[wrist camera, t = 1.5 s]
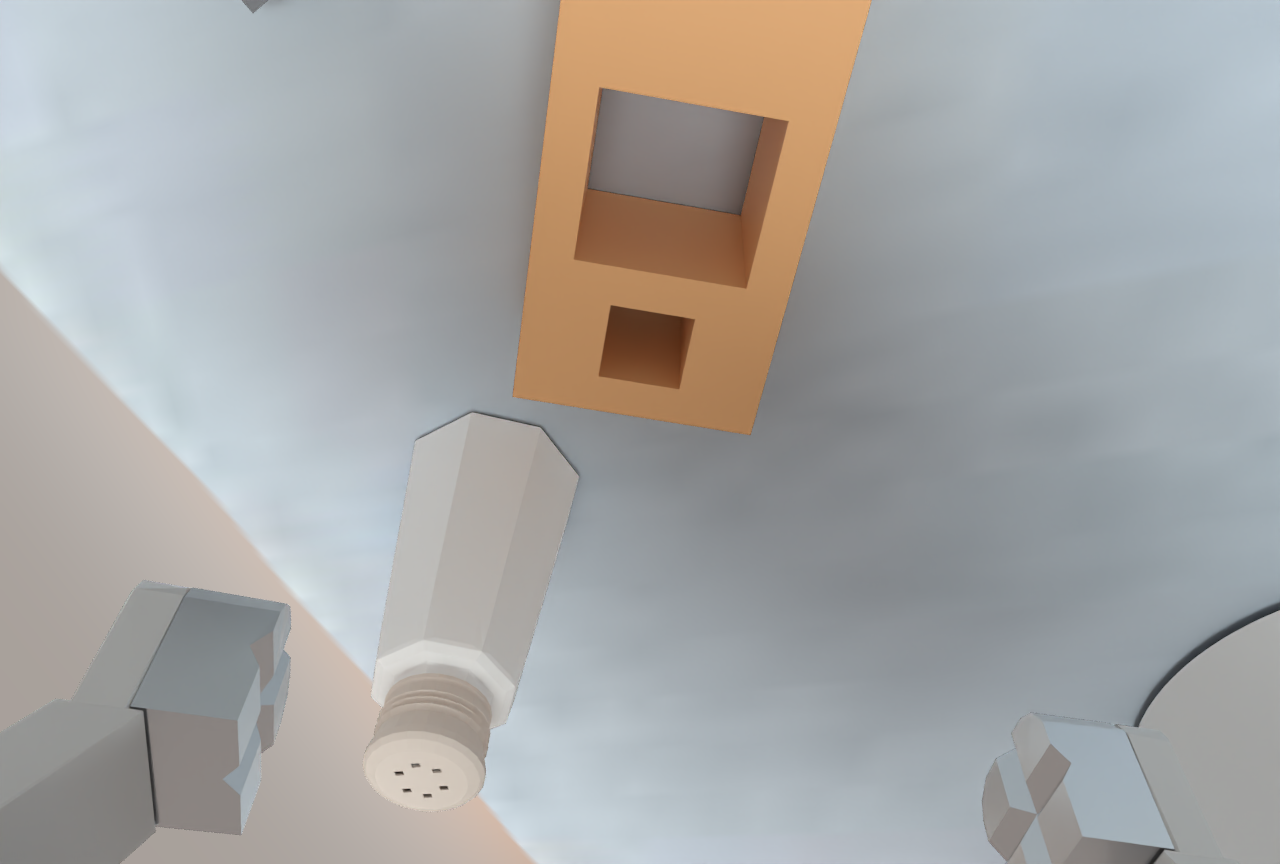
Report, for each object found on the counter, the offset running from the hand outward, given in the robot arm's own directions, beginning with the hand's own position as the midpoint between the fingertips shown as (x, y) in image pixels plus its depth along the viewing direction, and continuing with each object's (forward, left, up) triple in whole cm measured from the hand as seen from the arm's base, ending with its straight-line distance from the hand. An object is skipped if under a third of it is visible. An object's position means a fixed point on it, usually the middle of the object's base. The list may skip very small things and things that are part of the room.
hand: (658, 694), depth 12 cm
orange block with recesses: (0, 0, -19) cm, 19 cm away
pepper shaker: (-6, +11, -19) cm, 23 cm away
